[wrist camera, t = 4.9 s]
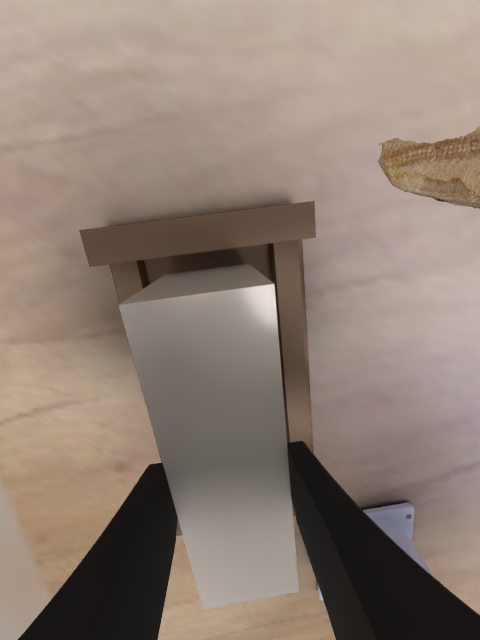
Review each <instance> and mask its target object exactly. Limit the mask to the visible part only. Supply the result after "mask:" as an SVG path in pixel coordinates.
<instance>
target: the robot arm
mask: <svg viewBox="0 0 480 640" xmlns="http://www.w3.org/2000/svg"><path fill="white" fill-rule="evenodd" d="M287 448H288V449H287V452H288V464H289V477H290V489H291V499H292V503H293V507H294V511H295V515H296V519H297V523H298V526H299V529H300V532H301V535H302V538H303V541H304V544H305V547H306V550H307V553H308V556H309V559H310V562H311V565H312V568H313V571H314V574H315V577H316V580H317V586H318V595H319V599H320V600H322V601H324V603H325V606H326V609H327V612H328V615H329V618H330V621H331V625H332V628H333V631H334V634H335V637H336V640H480V615H479V614H477V613H476V612H475V611H474V610H472V609H471V608H470V607H469V606H468V605H466V604H465V603H464V602H463V601H461V600H460V599H459V598H458V597H456V596H455V595H454V594H453V593H452V592H450V591H449V590H448V589H447V588H446V587H444V586H443V585H442V584H441V583H440V582H439V581H437V580H436V578H435V577H434V575H433V574H432V572H431V571H430V569H429V568H428V566H427V564H426V563H425V561H424V560H423V558H422V557H421V555H420V554H419V552H418V551H417V549H416V547H415V546H414V544H413V543H412V534H413V524H414V513H415V509H414V507H413V506H412V505H411V504H410V503H402V504H396V505H390V506H384V507H378V508H372V509H366V510H362V509H361V508H360V507H359V506H358V505H357V504H356V503H355V502H354V501H353V500H352V499H351V497H350V496H349V495H348V494H347V493H346V492H345V491H344V490H343V489H342V487H341V486H340V485H339V484H338V483H337V482H336V481H335V480H334V478H333V477H332V476H331V475H330V474H329V473H328V471H327V470H326V469H325V468H324V467H323V465H322V464H321V463H320V462H319V460H318V459H317V458H316V457H315V455H314V454H313V453H312V451H311V450H310V449H309V447H308V446H307V445H306V443H305V442H303V441H297V442H290V443H287ZM177 521H178V516H177V513H176V509H175V505H174V502H173V498H172V495H171V491H170V487H169V484H168V480H167V477H166V473H165V469H164V467H163V463H157V464H151V465H149V466H148V467H147V469H146V470H145V471H144V473H143V474H142V476H141V477H140V479H139V480H138V482H137V484H136V485H135V487H134V488H133V490H132V491H131V493H130V494H129V495H128V497H127V498H126V500H125V501H124V503H123V504H122V506H121V507H120V509H119V510H118V512H117V513H116V514H115V516H114V517H113V519H112V520H111V522H110V523H109V524H108V526H107V527H106V529H105V530H104V532H103V533H102V534H101V536H100V537H99V539H98V540H97V541H96V543H95V544H94V545H93V547H92V548H91V549H90V551H89V552H88V553H87V555H86V556H85V557H84V559H83V560H82V561H81V563H80V564H79V565H78V567H77V568H76V569H75V570H74V572H73V573H72V574H71V576H70V577H69V578H68V580H67V581H66V582H65V583H64V585H63V586H62V587H61V588H60V590H59V591H58V592H57V593H56V595H55V596H54V597H53V598H52V600H51V601H50V602H49V603H48V605H47V606H46V607H45V608H44V610H43V611H42V612H41V613H40V614H39V615H38V617H37V618H36V619H35V620H34V621H33V623H32V624H31V625H30V626H29V627H28V629H27V630H26V631H25V632H24V633H23V635H21V637H20V638H19V639H18V640H157V639H158V634H159V628H160V623H161V618H162V613H163V607H164V602H165V597H166V591H167V586H168V581H169V575H170V570H171V565H172V559H173V554H174V548H175V542H176V532H177Z"/></svg>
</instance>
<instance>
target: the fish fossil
mask: <svg viewBox="0 0 480 640" xmlns="http://www.w3.org/2000/svg"><path fill="white" fill-rule="evenodd" d="M381 144H382V143H380V144H379V145H381ZM382 148H383V149H382V150H381V156H380V159H379V164H380V166H381V168H382V169H383V171H384V173H385V175H386V176H387V177H388V179H389V181H390V182H391V184H393V185H394V186H395V187H396V188H399V189H400V190H403V191H405V192H411V193H414V194H417V195H421V196H427V197H432V198H434V199H436V200H438V201H442V202H448V203H451V204H454V205H462V206H470V207H473V208H480V126H479V127H478V128H477V129H476V130H475V131H474V132H472V133H469V134H468V135H466V136H464V137H462V136H461V137H459V138H454V139H446V140H443V141H437V142H436V143H433V144H430V143H425V142H423V143H416V142H414V141H402V140H400V139H399V138H394V139H392V140H389V141H386V142H384V143H383V144H382Z"/></svg>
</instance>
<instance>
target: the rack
mask: <svg viewBox="0 0 480 640" xmlns="http://www.w3.org/2000/svg"><path fill="white" fill-rule="evenodd" d="M79 231H80V234H81V238H82V241H83V245H84V248H85V252H86V255H87V259H88V262H89V266H90V267H91V266H99V265H107V264H109V265H110V269H111V272H112V276H113V280H114V284H115V288H116V291H117V295H118V299H119V303H120V304H121V303H122V302H124V301H125V300H127V299H128V298H130V297H131V296H133V295H135V294H136V293H138V292H139V291H141V290H142V289H144V288H145V287H147V286H148V285H150V284H152V283H153V282H155V281H156V280H158V279H159V278H161V277H162V276H164V275H165V274H172V273H180V272H187V271H195V270H202V269H210V268H217V267H225V266H232V265H240V264H248V263H249V264H250V265H251V266H252V267H254V268H255V269H256V270H258V271H259V272H260V273H261V274H263V275H264V276H265V277H266V278H268V279H269V280H270V281H271V282H273V283H274V286H275V299H276V311H277V324H278V336H279V348H280V361H281V373H282V386H283V398H284V411H285V423H286V436H287V443H290V442H297V441H303V442H305V443H306V445H307V446H308V447H309V449H310V450H311V451H312V453H313V440H312V420H311V401H310V382H309V363H308V344H307V325H306V306H305V287H304V267H303V248H302V239H308V238H315V237H316V233H315V206H314V201H311V202H303V203H295V204H287V205H279V206H271V207H263V208H255V209H247V210H239V211H231V212H223V213H215V214H207V215H199V216H191V217H183V218H175V219H166V220H158V221H150V222H142V223H134V224H126V225H118V226H110V227H102V228H94V229H86V230H79ZM152 428H153V427H152ZM153 432H154V431H153ZM154 435H155V434H154ZM155 439H156V438H155ZM156 443H157V442H156ZM157 447H158V445H157ZM158 450H159V449H158ZM159 454H160V452H159ZM160 458H161V456H160ZM161 462H162V459H161ZM292 511H293V516H296V515H295V511H294V507H293V503H292ZM179 535H182V531H181V528H180V524H179V520H178V521H177V532H176V536H179Z"/></svg>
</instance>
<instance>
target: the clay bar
mask: <svg viewBox="0 0 480 640" xmlns="http://www.w3.org/2000/svg"><path fill="white" fill-rule="evenodd" d="M119 309H120V313H121V316H122V320H123V323H124V327H125V330H126V334H127V338H128V341H129V345H130V348H131V352H132V356H133V359H134V363H135V366H136V370H137V373H138V377H139V381H140V384H141V388H142V391H143V395H144V399H145V402H146V406H147V409H148V413H149V416H150V420H151V424H152V427H153V431H154V434H155V438H156V442H157V445H158V449H159V452H160V456H161V459H162V463H163V467H164V469H165V473H166V477H167V480H168V484H169V487H170V491H171V495H172V498H173V502H174V505H175V509H176V513H177V516H178V520H179V524H180V528H181V531H182V535H183V538H184V542H185V545H186V549H187V553H188V556H189V560H190V563H191V567H192V571H193V574H194V578H195V581H196V585H197V588H198V592H199V596H200V599H201V603H202V606H203V610H205V609H210V608H216V607H221V606H227V605H232V604H237V603H243V602H248V601H254V600H259V599H265V598H270V597H276V596H281V595H286V594H292V593H297V592H299V585H298V573H297V560H296V548H295V535H294V523H293V511H292V499H291V489H290V477H289V464H288V452H287V449H288V448H287V436H286V423H285V411H284V398H283V386H282V373H281V361H280V348H279V336H278V324H277V311H276V299H275V286H274V283H273V282H271V281H270V280H269V279H268V278H266V277H265V276H264V275H263V274H261V273H260V272H259V271H258V270H256V269H255V268H254V267H252V266H251V265H250V264H249V263H248V264H240V265H232V266H225V267H217V268H210V269H202V270H195V271H187V272H180V273H172V274H165V275H164V276H162V277H161V278H159V279H158V280H156V281H155V282H153V283H152V284H150V285H148V286H147V287H145V288H144V289H142V290H141V291H139V292H138V293H136V294H135V295H133V296H131V297H130V298H128V299H127V300H125V301H124V302H122V303H121V304H119Z"/></svg>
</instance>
